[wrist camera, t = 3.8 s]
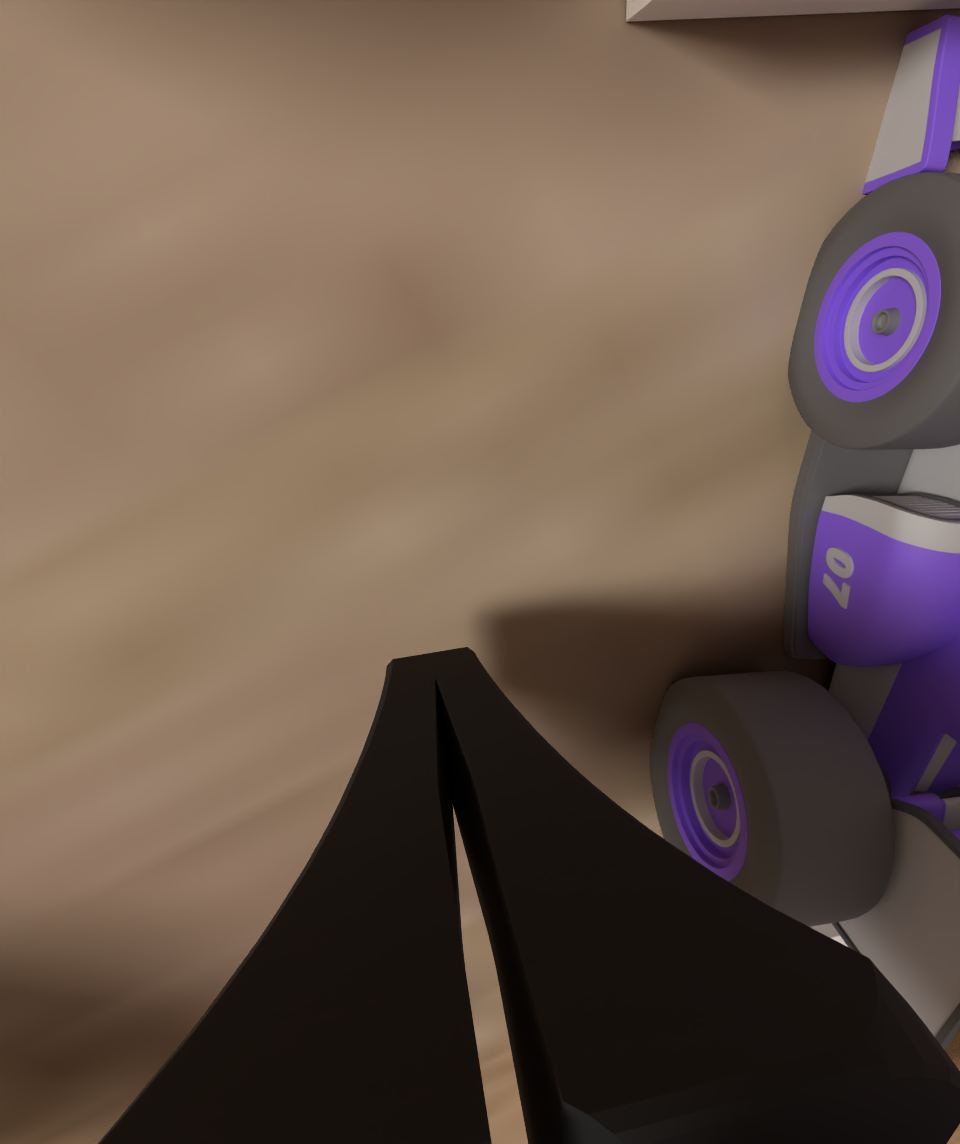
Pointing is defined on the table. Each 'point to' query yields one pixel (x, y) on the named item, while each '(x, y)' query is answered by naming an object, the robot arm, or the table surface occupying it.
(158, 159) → the table surface
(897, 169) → the toy race car
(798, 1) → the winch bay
